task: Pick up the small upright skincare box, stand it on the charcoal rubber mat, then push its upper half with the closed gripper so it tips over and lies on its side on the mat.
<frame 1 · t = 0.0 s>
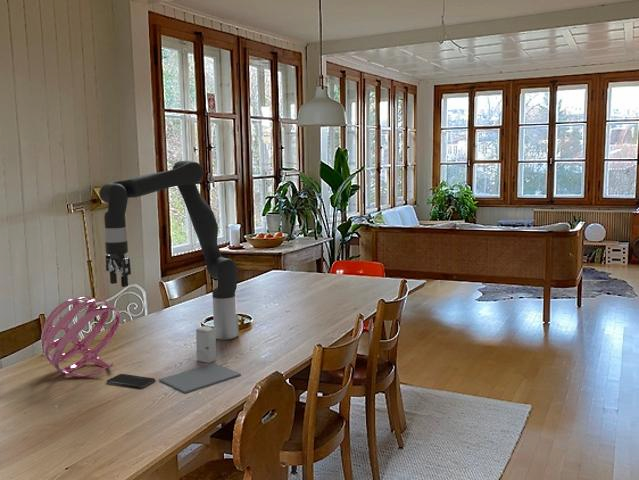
hand: (119, 285, 218), 29 cm above the table, fingers open, 8 cm apart
phone: (131, 383, 204), on the table
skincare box: (206, 360, 224), on the table
rubber mat: (200, 378, 206), on the table
spiral basket: (84, 370, 216), on the table
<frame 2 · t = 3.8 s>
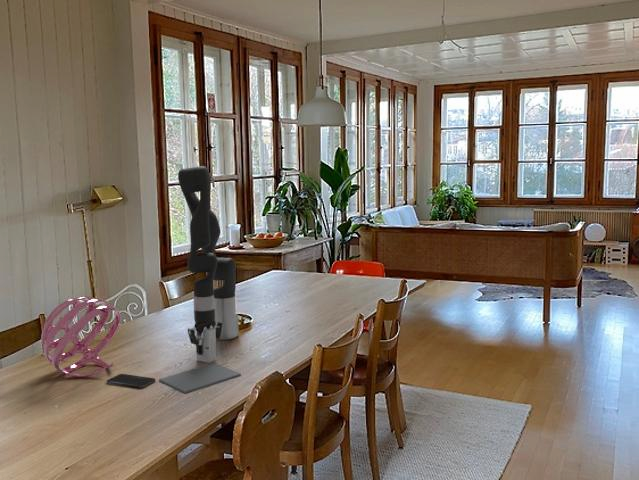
hand: (206, 352, 224), 3 cm above the table, fingers closed on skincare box, 5 cm apart
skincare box: (206, 360, 224), on the table, touching gripper
everything else where it was.
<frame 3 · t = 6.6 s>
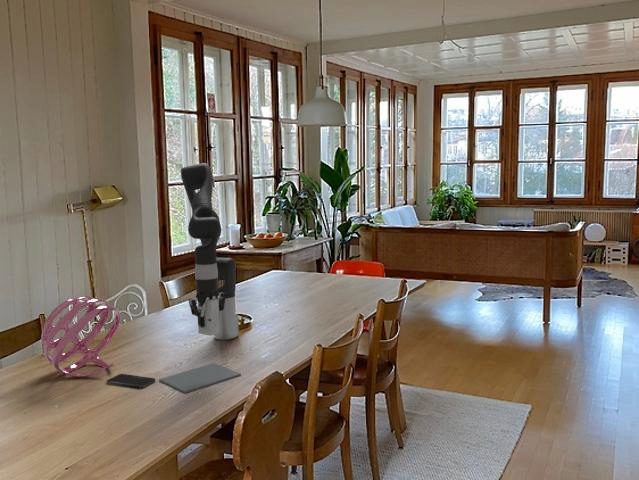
hand: (208, 325, 208), 17 cm above the table, fingers closed on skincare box, 5 cm apart
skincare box: (209, 333, 208), point 14 cm above the table, touching gripper
everything else where it was.
when the fingers open (5 cm above the table, at t = 9.2 s): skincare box drops 1 cm, resting on rubber mat.
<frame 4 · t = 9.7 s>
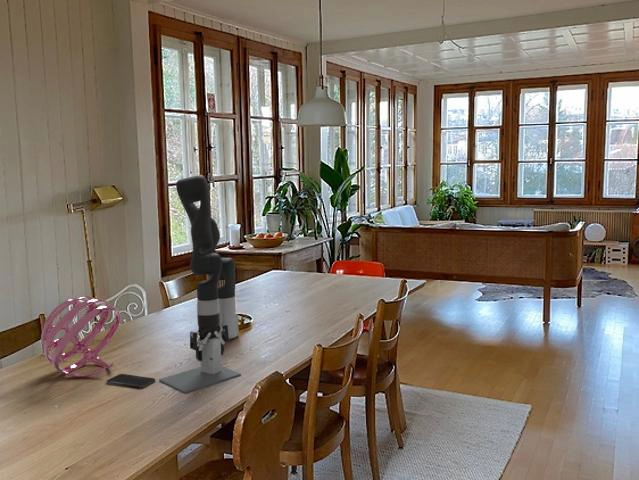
hand: (210, 357, 209), 6 cm above the table, fingers open, 8 cm apart
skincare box: (211, 372, 210), resting on rubber mat
everything else where it was.
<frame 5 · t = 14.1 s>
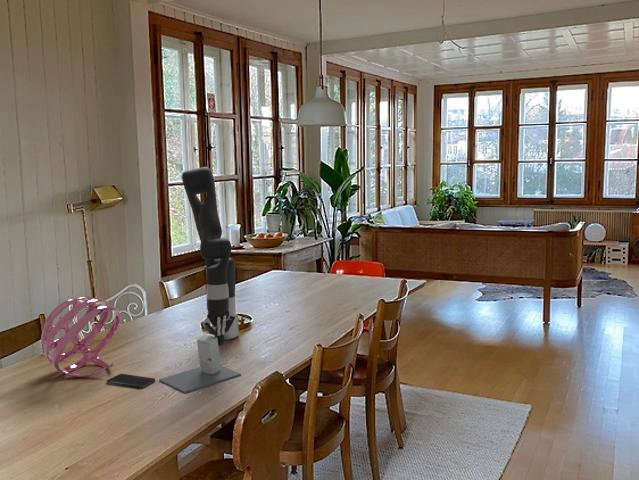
hand: (219, 345, 211), 9 cm above the table, fingers closed
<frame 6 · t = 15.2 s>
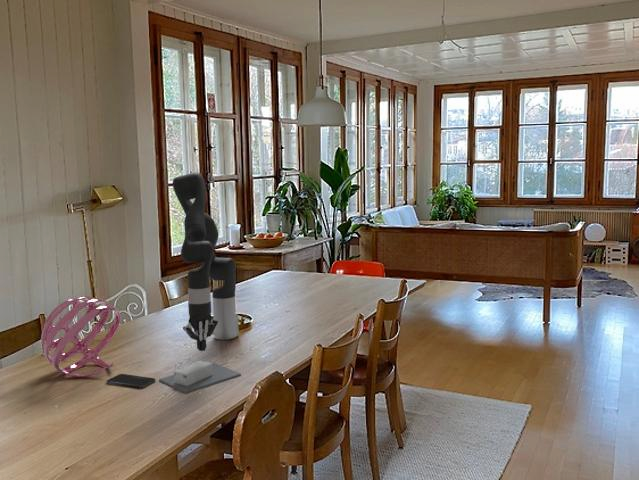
hand: (201, 350, 206), 9 cm above the table, fingers closed
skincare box: (206, 366, 208), point 3 cm above the table, touching rubber mat
everything else where it was.
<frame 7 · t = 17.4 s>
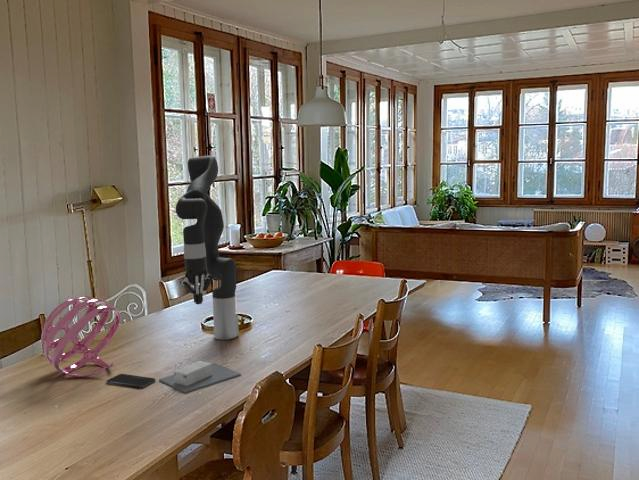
hand: (198, 303, 215), 23 cm above the table, fingers closed
nothing on the table moved.
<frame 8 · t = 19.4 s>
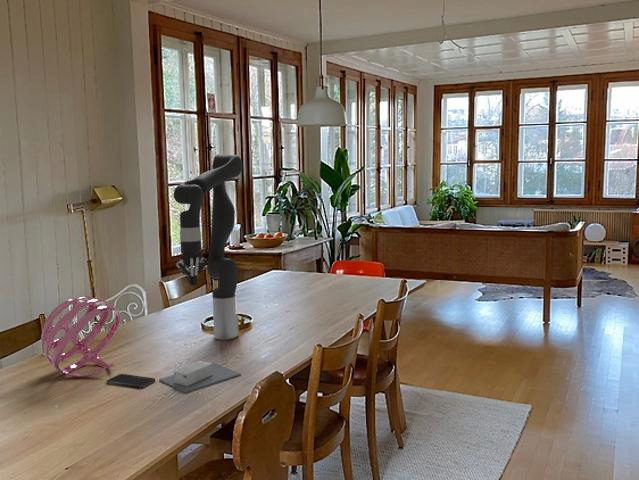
hand: (192, 285, 226), 27 cm above the table, fingers closed
nothing on the table moved.
at the end: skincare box tilted 92°; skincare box inside the target area (4.6 cm from its centre), point 3.0 cm above the table; the gripper is holding nothing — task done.
